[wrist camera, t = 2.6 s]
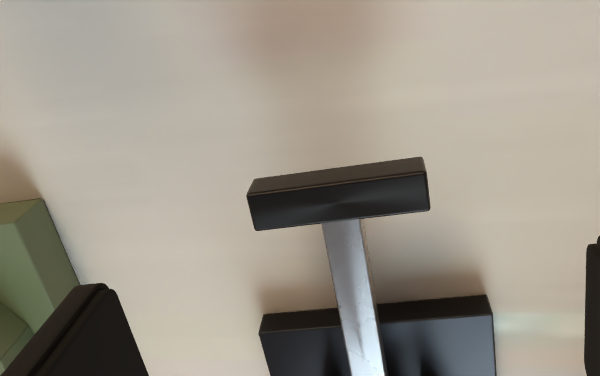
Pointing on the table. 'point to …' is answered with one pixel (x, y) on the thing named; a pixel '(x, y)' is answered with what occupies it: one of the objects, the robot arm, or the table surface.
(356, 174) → the lever
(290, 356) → the bracket
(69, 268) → the control block
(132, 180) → the table surface
